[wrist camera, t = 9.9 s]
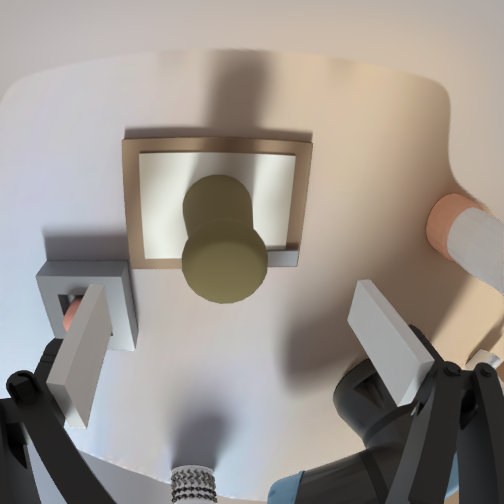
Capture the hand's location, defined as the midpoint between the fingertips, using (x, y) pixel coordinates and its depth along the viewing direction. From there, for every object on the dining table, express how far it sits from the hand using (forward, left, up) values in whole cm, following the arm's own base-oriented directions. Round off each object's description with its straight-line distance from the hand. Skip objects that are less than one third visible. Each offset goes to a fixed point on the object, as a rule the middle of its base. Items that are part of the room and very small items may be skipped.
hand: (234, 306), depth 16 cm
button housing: (+13, +10, -14) cm, 22 cm away
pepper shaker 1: (0, 0, -14) cm, 14 cm away
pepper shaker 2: (-27, +1, -15) cm, 31 cm away
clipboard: (0, 0, -14) cm, 14 cm away
